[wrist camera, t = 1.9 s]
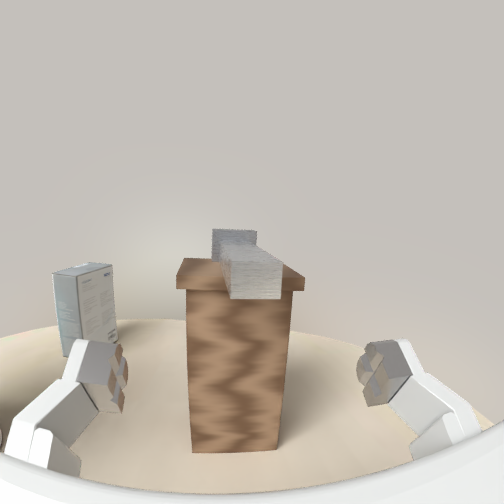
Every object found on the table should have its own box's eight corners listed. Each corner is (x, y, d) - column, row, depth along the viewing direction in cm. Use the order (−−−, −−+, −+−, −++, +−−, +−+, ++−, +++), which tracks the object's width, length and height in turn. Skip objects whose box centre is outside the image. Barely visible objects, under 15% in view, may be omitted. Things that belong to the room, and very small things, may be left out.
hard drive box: (95, 335, 74) (90, 261, 72) (118, 340, 73) (114, 264, 71) (61, 356, 59) (51, 271, 56) (86, 363, 58) (76, 275, 55)
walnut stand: (185, 457, 35) (176, 275, 32) (187, 407, 48) (184, 258, 45) (284, 453, 37) (305, 277, 34) (267, 406, 50) (278, 260, 47)
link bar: (217, 298, 24) (219, 242, 24) (211, 258, 46) (212, 228, 45) (292, 299, 25) (296, 244, 24) (252, 259, 47) (253, 230, 46)
